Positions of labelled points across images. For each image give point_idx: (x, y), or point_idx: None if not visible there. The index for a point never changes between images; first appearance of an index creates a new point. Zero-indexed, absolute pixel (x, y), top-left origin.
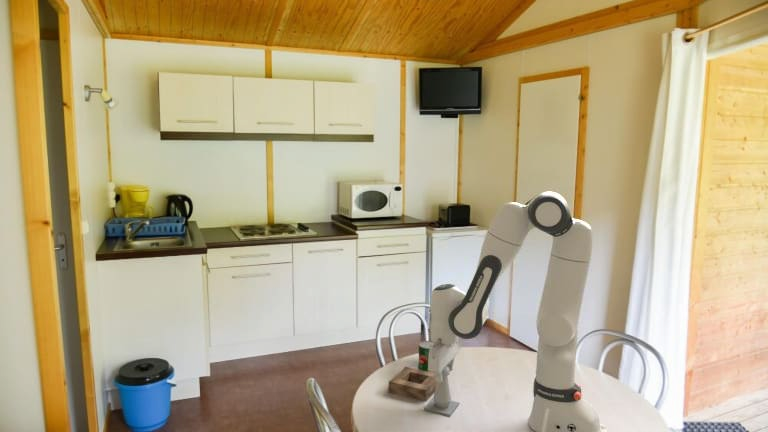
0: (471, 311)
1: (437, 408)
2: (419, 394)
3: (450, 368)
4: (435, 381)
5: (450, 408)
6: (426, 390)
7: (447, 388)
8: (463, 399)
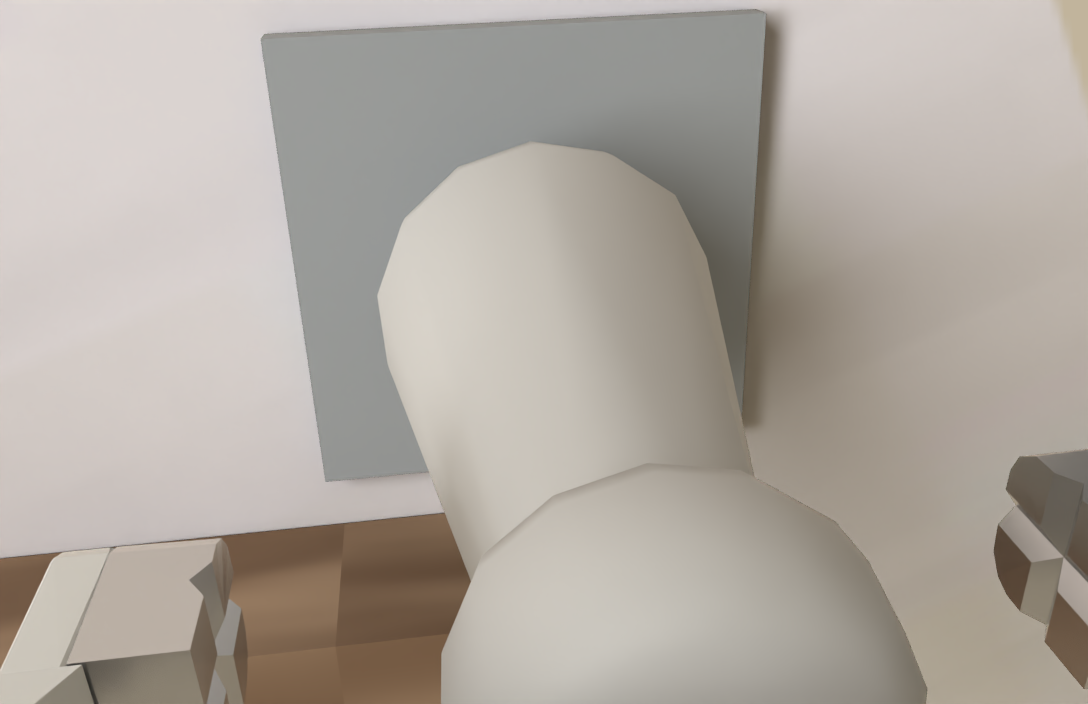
0: None
1: None
2: None
3: (207, 620)
4: None
5: (559, 98)
6: None
7: (642, 287)
8: (30, 41)
